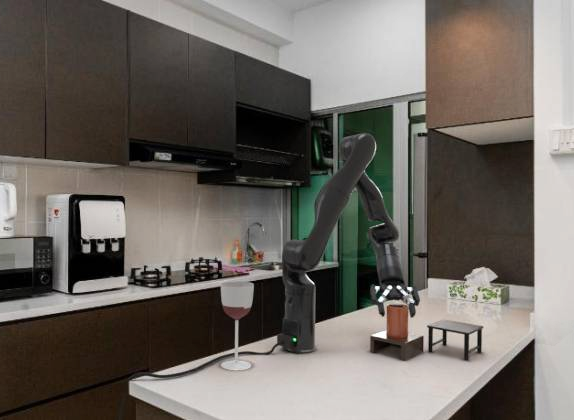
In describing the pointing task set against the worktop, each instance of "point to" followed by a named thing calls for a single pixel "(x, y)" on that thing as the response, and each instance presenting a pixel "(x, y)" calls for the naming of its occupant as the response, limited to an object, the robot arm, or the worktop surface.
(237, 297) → the wineglass
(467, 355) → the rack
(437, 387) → the worktop surface
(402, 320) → the cup
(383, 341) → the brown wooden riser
